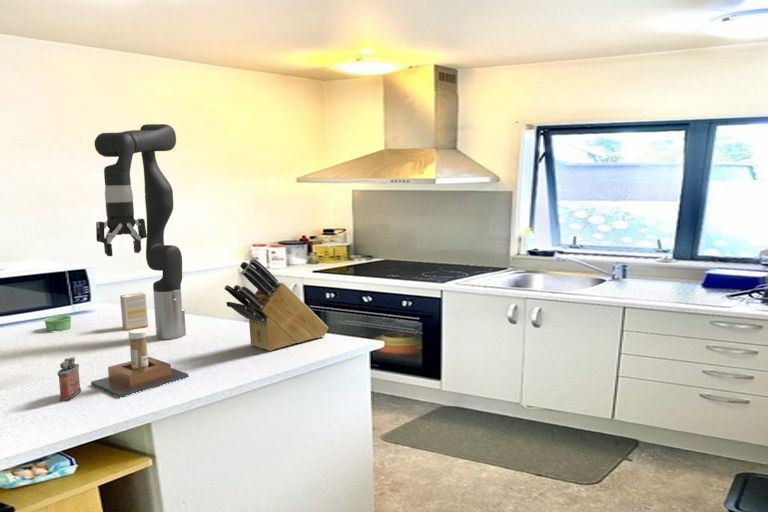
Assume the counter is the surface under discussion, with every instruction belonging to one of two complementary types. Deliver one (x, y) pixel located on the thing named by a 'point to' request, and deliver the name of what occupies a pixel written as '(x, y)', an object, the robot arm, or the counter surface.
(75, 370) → the lighter
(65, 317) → the ramekin
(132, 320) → the supplement box
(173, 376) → the collar deck
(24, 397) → the counter surface
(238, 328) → the counter surface
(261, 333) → the knife block
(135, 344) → the spice jar
